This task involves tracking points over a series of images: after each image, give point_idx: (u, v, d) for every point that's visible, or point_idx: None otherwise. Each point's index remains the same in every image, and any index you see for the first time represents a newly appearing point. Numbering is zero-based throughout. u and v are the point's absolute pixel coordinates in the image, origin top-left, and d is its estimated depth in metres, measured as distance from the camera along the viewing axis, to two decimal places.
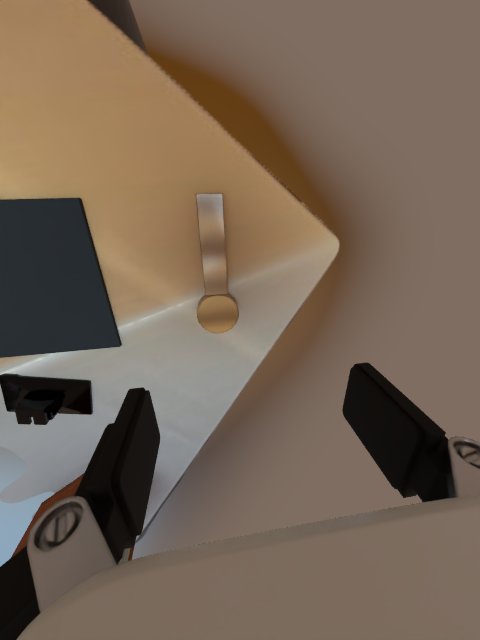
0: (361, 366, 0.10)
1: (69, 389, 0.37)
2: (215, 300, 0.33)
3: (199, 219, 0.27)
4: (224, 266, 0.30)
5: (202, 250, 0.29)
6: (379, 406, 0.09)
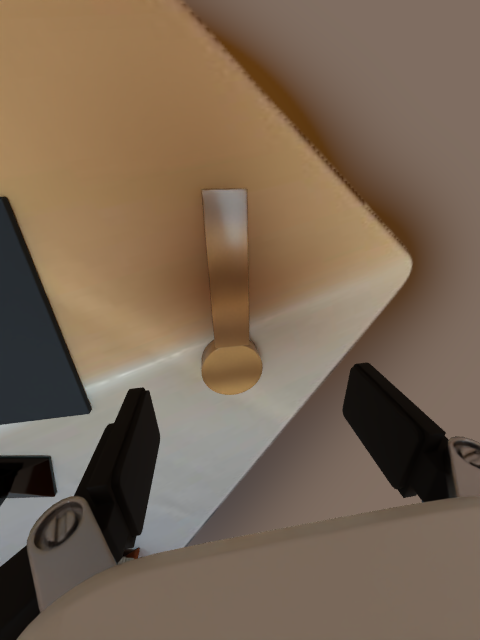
0: (361, 366, 0.10)
1: (19, 470, 0.26)
2: (229, 351, 0.22)
3: (207, 233, 0.16)
4: (245, 306, 0.19)
5: (211, 282, 0.18)
6: (379, 406, 0.09)
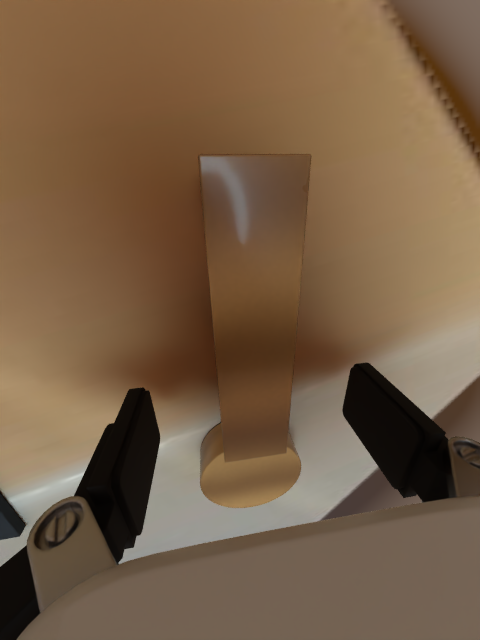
0: (361, 366, 0.10)
1: None
2: None
3: (211, 261, 0.07)
4: (285, 395, 0.10)
5: (219, 359, 0.09)
6: (379, 406, 0.09)
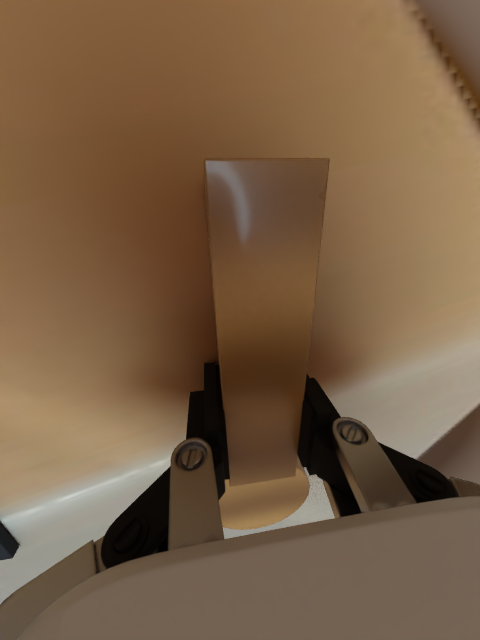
0: None
1: None
2: None
3: (217, 276, 0.06)
4: (296, 416, 0.09)
5: (225, 380, 0.08)
6: None
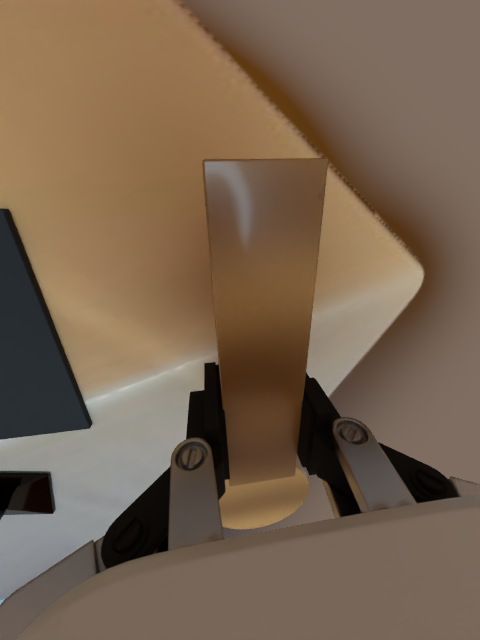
0: None
1: (17, 487, 0.25)
2: None
3: (216, 276, 0.06)
4: (295, 416, 0.09)
5: (224, 380, 0.08)
6: None
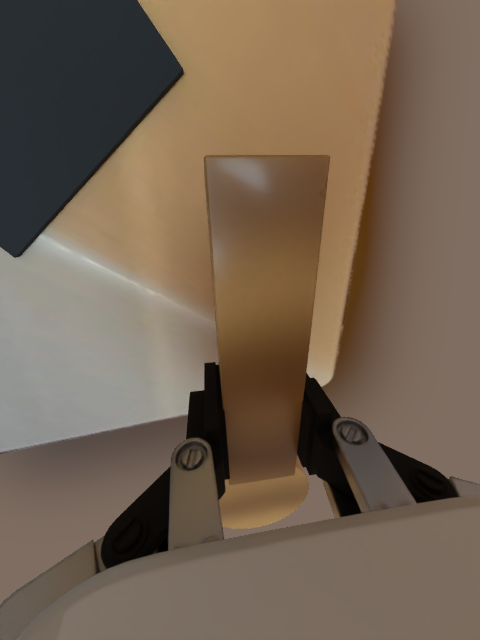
0: None
1: None
2: None
3: (217, 273, 0.06)
4: (295, 415, 0.09)
5: (225, 378, 0.08)
6: None
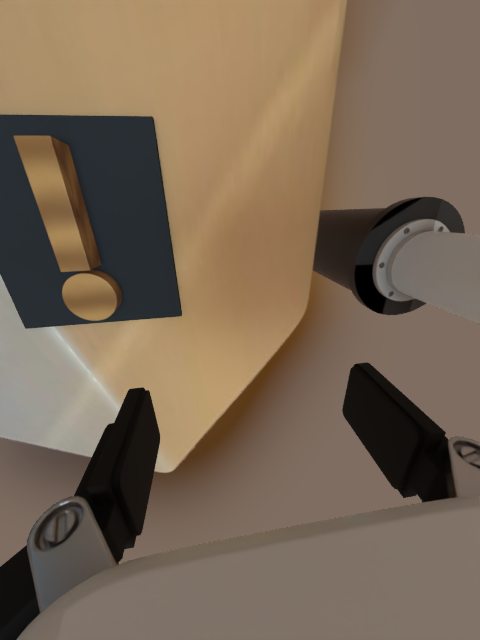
0: (361, 366, 0.10)
1: None
2: (82, 279, 0.27)
3: (27, 171, 0.22)
4: (77, 234, 0.24)
5: (41, 213, 0.23)
6: (379, 406, 0.09)
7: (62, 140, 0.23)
